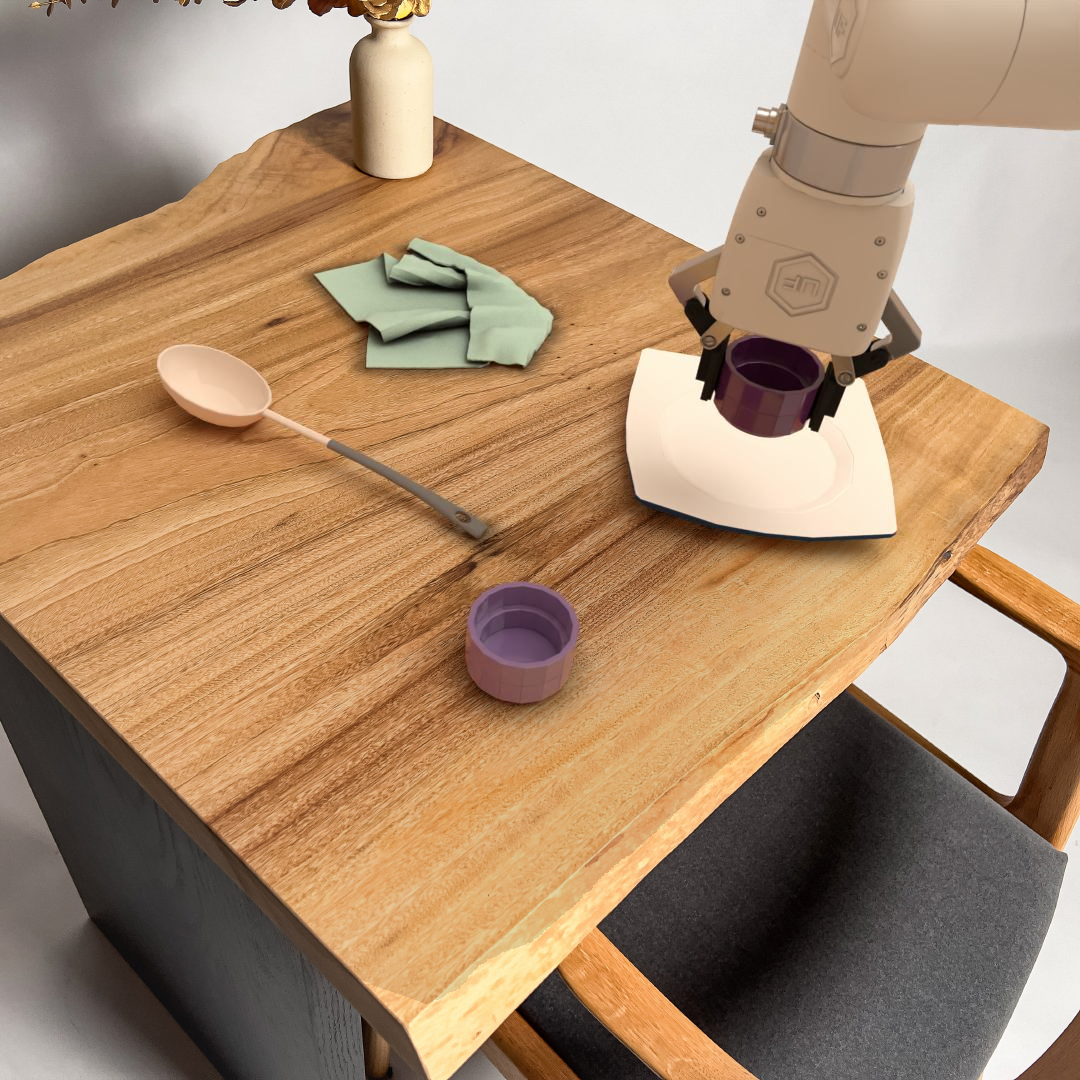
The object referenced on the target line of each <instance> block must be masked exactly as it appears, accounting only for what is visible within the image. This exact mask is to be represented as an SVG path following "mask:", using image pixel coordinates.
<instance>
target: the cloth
mask: <svg viewBox="0 0 1080 1080" xmlns="http://www.w3.org/2000/svg"><path fill="white" fill-rule="evenodd" d="M409 250H412V251H413V252H412V253H411V254H405V253H404V254H403V257H402V258H401V259H400V260H399V259H397V258H396V257H393V256H392V255H390V254H389V253H387V252H385V251H384V252H382V253H380V254H379V255H378V256H377V257H375V258H374V259H372V260H369V261H366V262H361V263H357V264H353V265H347V266H344V267H339V268H334V269H330V270H325V271H322V272H317V273H314V274H313V276H314V277H315V278H316V280H318V281H319V283H320V284H321V286H323V288H324V289H325V290H326V291H327V292H328V293H329V294H330V296H331V297H332V298H333V299H334V300H335V301H336V302H337V303H338V304H339V305H340V307H342V309H343V310H344V311H345V312H346V313H347V314H348V315H349V316H350V317H351V318H352V319H353V321H355V322H356V323H361V322H366V323H369V324H370V325H369V328H368V336H367V337H368V338H367V343H366V357H365V358H366V359H365V360H366V361H365V368H366V369H400V370H401V369H402V370H403V369H410V370H411V369H421V370H422V369H429V370H430V369H431V370H433V369H435V370H436V369H437V370H438V369H439V370H440V369H478V368H479V369H480V368H483V367H487V366H489V365H490V363H491V362H494V363H497V364H498V365H499V364H500V365H507V366H512V365H516V366H519V367H520V368H523V369H525V368H526V367H527V366H528V365H530V363H531V361H532V360H533V357H534V356H535V355H536V353H537V352H538V351H539V350H540V349H541V348H542V346H543V344H544V342H545V340H546V339H547V338H548V337H550V335H551V334H552V330H553V321H554V319H555V316H554V314H553V313H552V311H551V310H550V309H548V308H546V307H544V306H542V305H541V304H540V303H539V302H538V300H537V299H535V297H533V296H530V295H529V294H527V292H525V290H523V289H522V288H521V287H520V286H518V285H516V283H515V282H514V281H513V279H511V278H510V277H508V276H506V275H504V274H502V273H501V272H499V271H498V270H497V269H495V268H494V267H492V266H489V265H486V264H485V263H484V264H483V263H481V262H479V261H477V260H476V259H475V258H473V257H470V256H468V255H464V254H461V253H459V252H457V251H456V250H453V249H452V248H450V247H448V246H445V245H441V244H438V243H434V242H431V241H428V240H424V239H421V238H418V237H414V238H413V239H412V240H410V242H409V243H408V245H407V248H406V251H409Z"/></svg>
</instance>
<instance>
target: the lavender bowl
mask: <svg viewBox="0 0 1080 1080" xmlns="http://www.w3.org/2000/svg"><path fill="white" fill-rule="evenodd" d="M579 630H580V622H579V619H578V616H577V613H576V610H575V608H574V606H572V605H571V604H570V602H568V600H567V599H566V598H565V596H563V594H561V593H559V592H557V591H555V590H553V589H552V588H549V587H548V586H546V585H544V584H541V583H540V584H539V583H534V582H530V581H522V580H521V581H512V582H503V583H500V584H497V585H496V586H493V587H491V588H489V589H486V590H484V591H483V592H482V593H481V595H479V596H478V598H477V599H475V601H474V602H473V603H472V604H471V606H470V609H469V613H468V616H467V620H466V633H465V646H464V647H465V648H464V660H465V664H466V669H467V672H468V675H469V676H470V677H471V679H472V680H473V682H474V683H475V684H476V685H477V687H478V688H479V689H480V690H482V691H483V692H485V693H487V694H488V695H490V696H492V697H493V698H495V699H497V700H500V701H506V702H510V703H515V704H516V703H517V704H529V703H536V702H541V701H543V700H544V699H547V698H549V697H550V696H552V695H554V694H556V693H558V692H559V691H560V690H561V689H562V688H563V686H564V685H565V684H566V683H567V681H568V680H569V679H570V676H571V672H572V667H573V663H574V659H575V652H576V647H577V642H578V636H579V632H580V631H579Z"/></svg>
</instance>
